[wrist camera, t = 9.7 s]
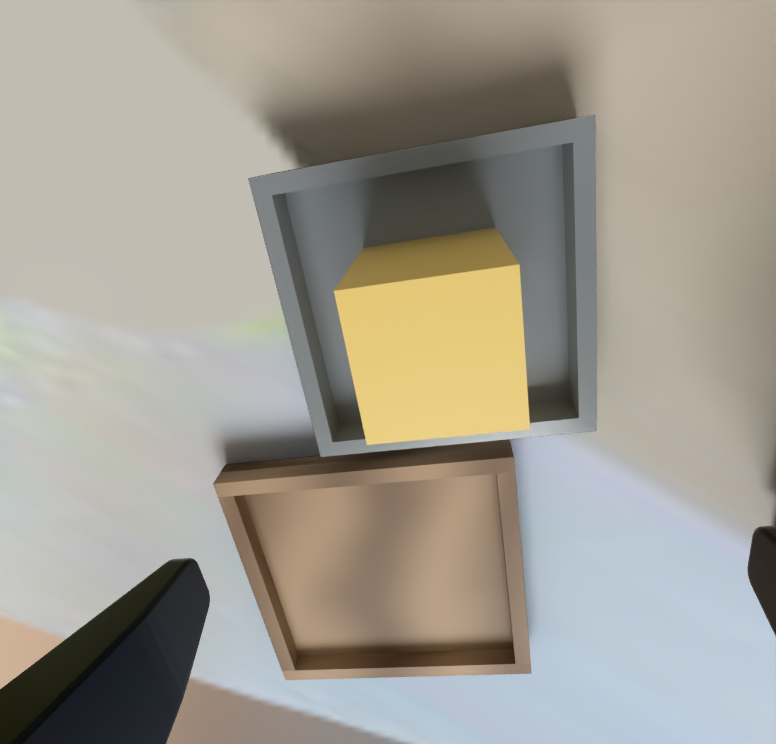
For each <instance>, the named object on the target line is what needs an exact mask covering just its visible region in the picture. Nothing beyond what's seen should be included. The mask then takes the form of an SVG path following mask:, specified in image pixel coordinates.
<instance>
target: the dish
mask: <svg viewBox="0 0 776 744" xmlns="http://www.w3.org/2000/svg"><path fill="white" fill-rule="evenodd" d="M249 183H250V187H251V191H252V194H253V198H254V202H255V206H256V210H257V214H258V218H259V221H260V225H261V229H262V233H263V237H264V241H265V244H266V248H267V252H268V256H269V260H270V264H271V268H272V271H273V275H274V279H275V283H276V287H277V291H278V295H279V298H280V302H281V306H282V310H283V314H284V318H285V321H286V325H287V329H288V333H289V337H290V341H291V345H292V348H293V352H294V356H295V360H296V364H297V368H298V371H299V375H300V379H301V383H302V387H303V391H304V395H305V398H306V402H307V406H308V410H309V414H310V418H311V421H312V425H313V429H314V433H315V437H316V441H317V444H318V448H319V452H320V456H321V457H326V456H337V455H347V454H358V453H369V452H379V451H390V450H401V449H411V448H422V447H432V446H443V445H454V444H464V443H475V442H486V441H496V440H507V439H518V438H528V437H539V436H549V435H560V434H571V433H581V432H592V431H597V380H596V175H595V115H592V116H585V117H579V118H573V119H568V120H562V121H557V122H551V123H546V124H540V125H535V126H529V127H524V128H518V129H513V130H507V131H502V132H496V133H491V134H485V135H480V136H474V137H469V138H463V139H458V140H453V141H447V142H442V143H436V144H431V145H425V146H420V147H414V148H409V149H403V150H398V151H392V152H387V153H381V154H376V155H370V156H365V157H359V158H354V159H348V160H343V161H337V162H332V163H326V164H321V165H316V166H310V167H305V168H299V169H294V170H288V171H283V172H277V173H272V174H266V175H262V176H257V177H252V178H249ZM490 228H496V229H497V231H498V232H499V234H500V235H501V237H502V238H503V240H504V241H505V243H506V244H507V246H508V248H509V249H510V251H511V252H512V254H513V255H514V257H515V258H516V260H517V261H518V263H519V264H520V280H521V296H522V311H523V327H524V342H525V358H526V374H527V389H528V405H529V420H530V429H529V430H519V431H508V432H498V433H487V434H477V435H467V436H456V437H446V438H435V439H425V440H414V441H404V442H393V443H383V444H372V445H367V443H366V439H365V434H364V429H363V425H362V420H361V415H360V411H359V406H358V401H357V397H356V392H355V387H354V383H353V378H352V373H351V369H350V364H349V359H348V355H347V350H346V345H345V341H344V336H343V331H342V327H341V322H340V317H339V313H338V308H337V303H336V299H335V294H334V290H335V289H336V287H337V286H338V284H339V283H340V281H341V280H342V278H343V277H344V275H345V274H346V272H347V271H348V270H349V268H350V267H351V265H352V264H353V262H354V261H355V259H356V258H357V256H358V255H359V254H360V252H361V251H362V249H363V248H367V247H373V246H380V245H386V244H393V243H399V242H406V241H412V240H419V239H425V238H431V237H438V236H444V235H451V234H457V233H464V232H470V231H477V230H483V229H490Z"/></svg>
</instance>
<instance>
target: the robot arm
mask: <svg viewBox="0 0 776 744" xmlns="http://www.w3.org/2000/svg"><path fill="white" fill-rule="evenodd" d="M748 576H749V580H750V583H751V585H752V588H753V590H754V592H755V594H756V596H757V598H758V600H759V602H760V604H761V606H762V609H763V611H764V613H765V615H766V617H767V619H768V621H769V623H770V625H771V627H772V629H773V632H774V634H775V636H776V526H762V527H758V528H757V529H756V530H755V531H754V533H753V537H752V543H751V549H750V556H749V562H748ZM209 603H210V595H209V590H208V588H207V585H206V583H205V580H204V578H203V575H202V573H201V570H200V568H199V566H198V563H197V562H196V561H195V560H194V559H191V558H184V559H173V560H170V561H168V562H167V563H165V564H164V565H163V566H161V567H160V568H159V569H157V570H156V571H155V572H153V573H152V574H151V575H149V576H148V577H147V578H146V579H144V580H143V581H142V582H140V583H139V584H138V585H136V586H135V587H134V588H132V589H131V590H130V591H129V592H127V593H126V594H125V595H123V596H122V597H121V598H119V599H118V600H117V601H115V602H114V603H113V604H111V605H110V606H109V607H108V608H106V609H105V610H104V611H102V612H101V613H100V614H98V615H97V616H96V617H94V618H93V619H92V620H91V621H89V622H88V623H87V624H85V625H84V626H83V627H81V628H80V629H79V630H77V631H76V632H75V633H73V634H72V635H71V636H70V637H68V638H67V639H66V640H64V641H63V642H62V643H60V644H59V645H58V646H57V647H55V648H54V649H53V650H51V651H50V652H49V653H48V654H46V655H45V656H44V657H42V658H41V659H40V660H38V661H37V662H35V663H34V664H33V665H32V666H31V667H29V668H28V669H27V670H25V671H24V672H22V673H21V674H20V675H19V676H17V677H16V678H15V679H13V680H12V681H11V682H9V683H8V684H7V685H6V686H4V687H3V688H1V689H0V744H166V742H167V740H168V737H169V735H170V732H171V729H172V726H173V724H174V721H175V719H176V716H177V713H178V711H179V708H180V705H181V702H182V700H183V697H184V693H185V690H186V687H187V684H188V681H189V677H190V673H191V670H192V666H193V662H194V659H195V655H196V652H197V648H198V644H199V641H200V637H201V634H202V630H203V626H204V623H205V619H206V616H207V612H208V608H209Z"/></svg>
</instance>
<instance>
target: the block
mask: <svg viewBox="0 0 776 744" xmlns="http://www.w3.org/2000/svg"><path fill="white" fill-rule="evenodd" d="M334 294H335V299H336V303H337V308H338V313H339V317H340V322H341V327H342V331H343V336H344V341H345V345H346V350H347V355H348V359H349V364H350V369H351V373H352V378H353V383H354V387H355V392H356V397H357V401H358V406H359V411H360V415H361V420H362V425H363V429H364V434H365V439H366V443H367V445H372V444H383V443H393V442H404V441H414V440H425V439H435V438H446V437H456V436H467V435H477V434H487V433H498V432H508V431H519V430H529V429H530V420H529V405H528V389H527V374H526V358H525V342H524V327H523V311H522V296H521V280H520V264H519V263H518V261H517V260H516V258H515V257H514V255H513V254H512V252H511V251H510V249H509V248H508V246H507V244H506V243H505V241H504V240H503V238H502V237H501V235H500V234H499V232H498V231H497V229H496V228H490V229H483V230H477V231H470V232H464V233H457V234H451V235H444V236H438V237H431V238H425V239H419V240H412V241H406V242H399V243H393V244H386V245H380V246H373V247H367V248H363V249H362V251H361V252H360V254H359V255H358V256H357V258H356V259H355V261H354V262H353V264H352V265H351V267H350V268H349V270H348V271H347V272H346V274H345V275H344V277H343V278H342V280H341V281H340V283H339V284H338V286H337V287H336V289H335V290H334Z"/></svg>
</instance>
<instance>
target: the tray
mask: <svg viewBox="0 0 776 744" xmlns="http://www.w3.org/2000/svg"><path fill="white" fill-rule="evenodd" d="M213 485H214V488H215V490H216V493H217V496H218V498H219V501H220V504H221V507H222V509H223V512H224V515H225V517H226V520H227V523H228V526H229V528H230V531H231V534H232V536H233V539H234V542H235V544H236V547H237V550H238V553H239V555H240V558H241V561H242V563H243V566H244V569H245V572H246V574H247V577H248V580H249V582H250V585H251V588H252V591H253V593H254V596H255V599H256V601H257V604H258V607H259V610H260V612H261V615H262V618H263V620H264V623H265V626H266V629H267V631H268V634H269V637H270V639H271V642H272V645H273V648H274V650H275V653H276V656H277V658H278V661H279V664H280V666H281V669H282V672H283V675H284V677H285V680H306V679H343V678H380V677H417V676H454V675H492V674H529V673H531V662H530V650H529V638H528V625H527V613H526V601H525V589H524V576H523V564H522V552H521V540H520V528H519V515H518V503H517V491H516V479H515V466H514V456H513V452H512V448H511V444H510V439H507V440H496V441H486V442H475V443H464V444H454V445H443V446H432V447H422V448H411V449H401V450H390V451H379V452H369V453H358V454H347V455H337V456H326V457H321V456H312V457H301V458H290V459H280V460H269V461H259V462H248V463H238V464H227V465H225V466H224V468H223V470H222V471H221V473H220V474H219V476H218V477H217V479H216V480H215V482H214V483H213Z"/></svg>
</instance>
